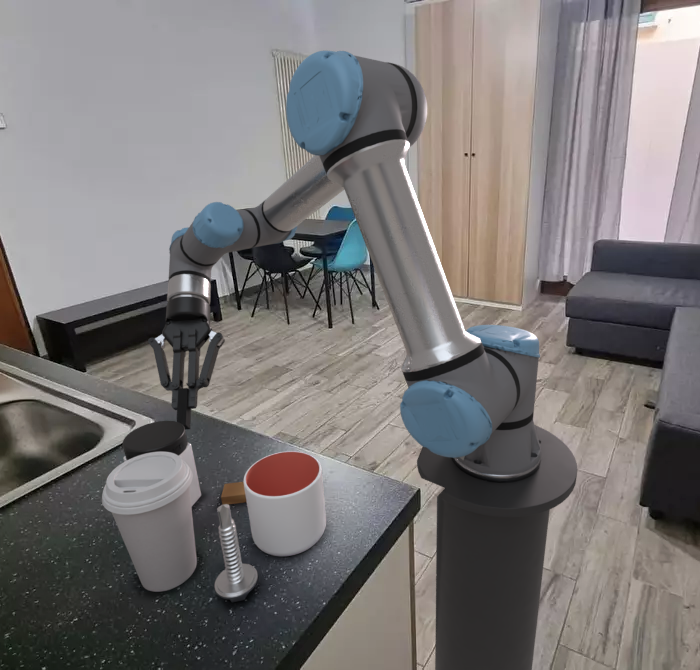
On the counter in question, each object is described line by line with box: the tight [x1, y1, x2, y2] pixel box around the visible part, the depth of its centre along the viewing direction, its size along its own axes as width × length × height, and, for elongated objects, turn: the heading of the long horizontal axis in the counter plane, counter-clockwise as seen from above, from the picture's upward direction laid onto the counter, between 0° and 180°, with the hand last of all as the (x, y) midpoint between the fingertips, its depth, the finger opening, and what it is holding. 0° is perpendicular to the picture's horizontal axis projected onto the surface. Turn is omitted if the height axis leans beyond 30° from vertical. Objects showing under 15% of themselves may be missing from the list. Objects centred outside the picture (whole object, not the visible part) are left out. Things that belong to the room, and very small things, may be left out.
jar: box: [122, 420, 202, 508], centre depth 71 cm, size 9×8×12 cm
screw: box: [214, 504, 259, 603], centre depth 56 cm, size 13×5×5 cm
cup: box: [243, 450, 327, 557], centre depth 65 cm, size 10×10×10 cm
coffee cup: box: [101, 452, 198, 593], centre depth 59 cm, size 10×10×15 cm
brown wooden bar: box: [220, 481, 247, 505], centre depth 75 cm, size 13×3×2 cm, turn 100°
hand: (183, 427), depth 81 cm, fingers closed
